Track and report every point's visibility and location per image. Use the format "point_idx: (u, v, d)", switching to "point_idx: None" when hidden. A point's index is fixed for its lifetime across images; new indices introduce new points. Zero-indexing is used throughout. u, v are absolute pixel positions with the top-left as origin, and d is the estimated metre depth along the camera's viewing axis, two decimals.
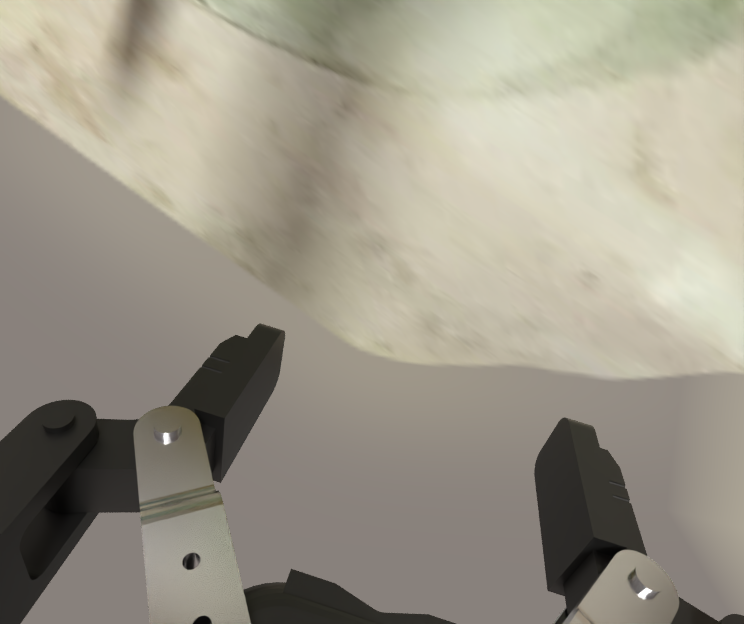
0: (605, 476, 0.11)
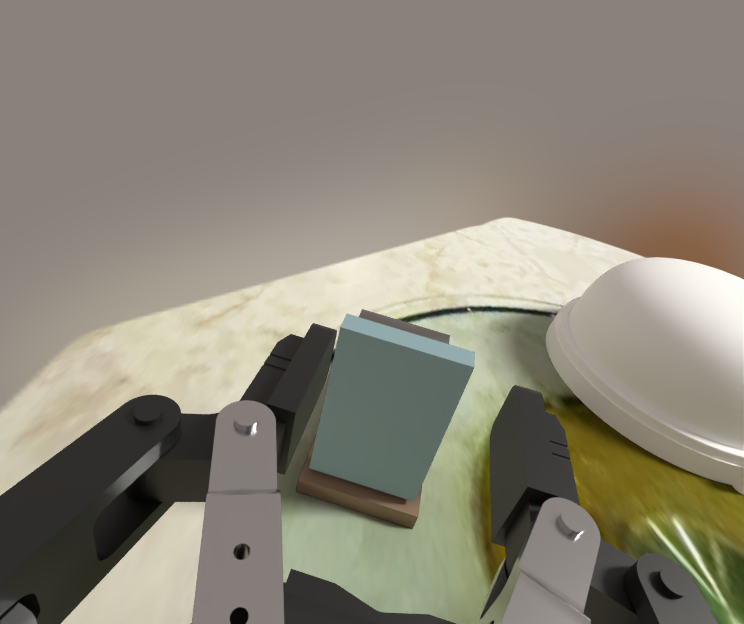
0: (546, 435, 0.11)
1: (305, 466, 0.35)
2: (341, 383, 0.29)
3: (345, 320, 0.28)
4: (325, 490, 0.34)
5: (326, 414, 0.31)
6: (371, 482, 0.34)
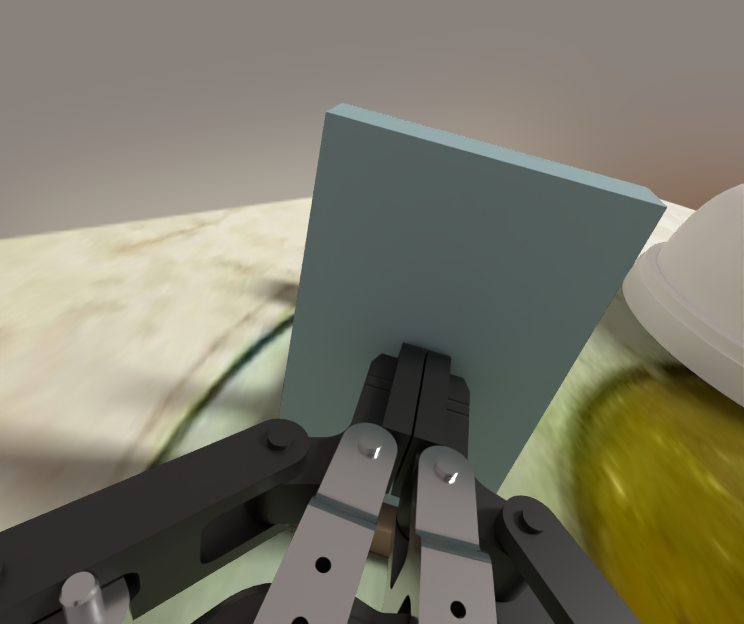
0: (445, 393, 0.12)
1: None
2: (330, 275, 0.13)
3: (338, 107, 0.12)
4: None
5: (299, 352, 0.15)
6: (390, 493, 0.17)
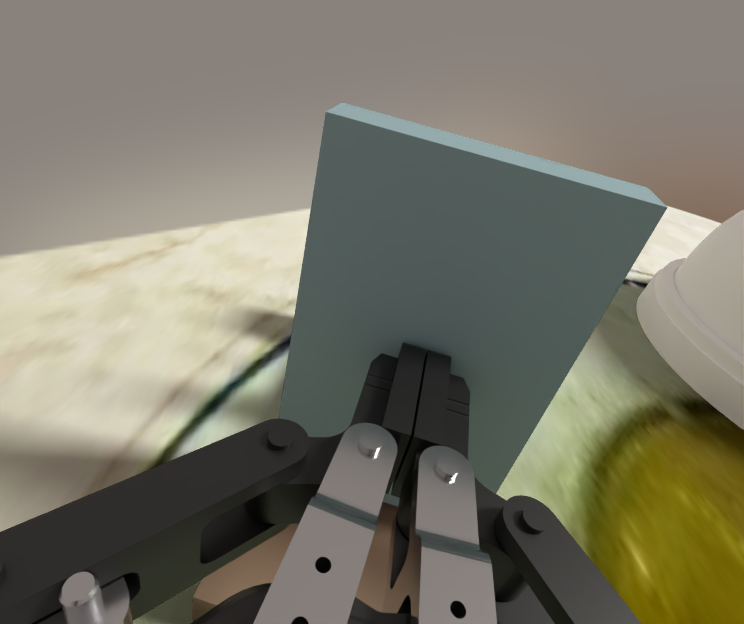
0: (445, 393, 0.12)
1: None
2: (330, 275, 0.13)
3: (338, 107, 0.12)
4: None
5: (299, 351, 0.15)
6: (390, 493, 0.17)
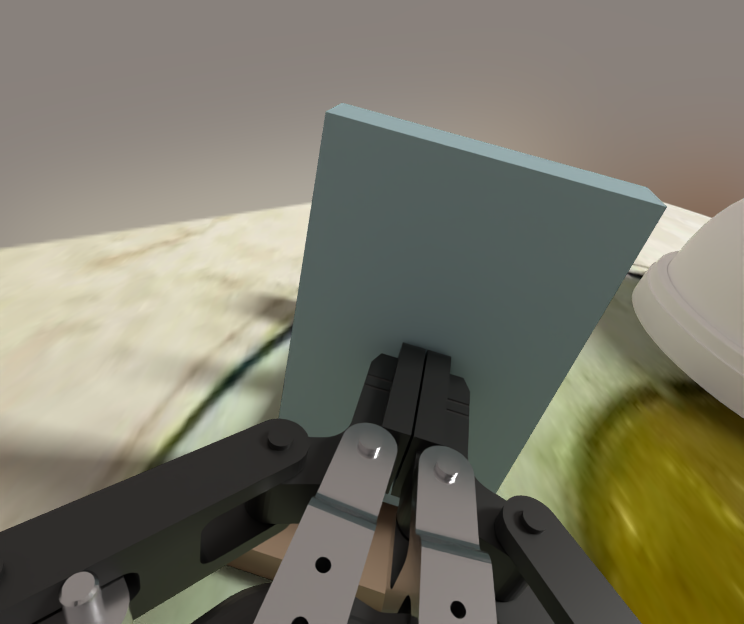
0: (445, 393, 0.12)
1: None
2: (330, 275, 0.13)
3: (338, 107, 0.12)
4: None
5: (299, 352, 0.15)
6: (390, 493, 0.17)
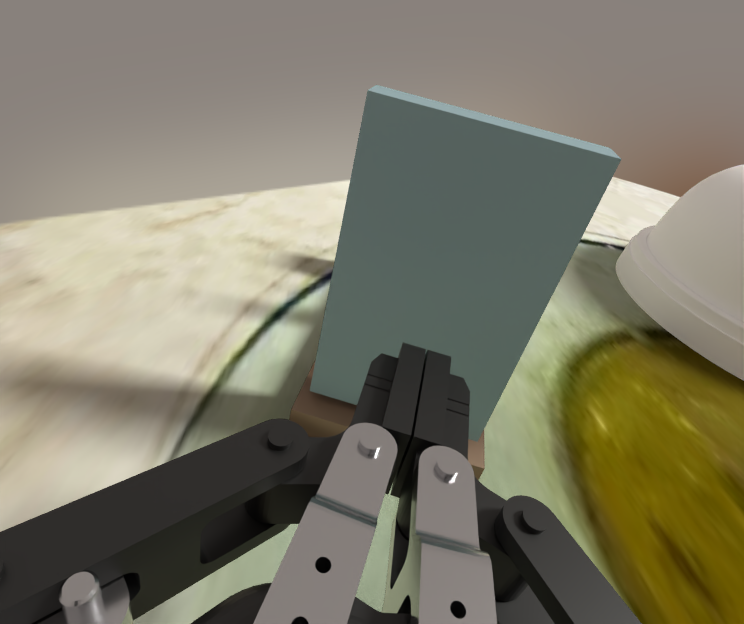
0: (445, 393, 0.12)
1: (302, 393, 0.22)
2: (366, 220, 0.17)
3: (375, 88, 0.15)
4: (334, 428, 0.21)
5: (338, 287, 0.18)
6: None
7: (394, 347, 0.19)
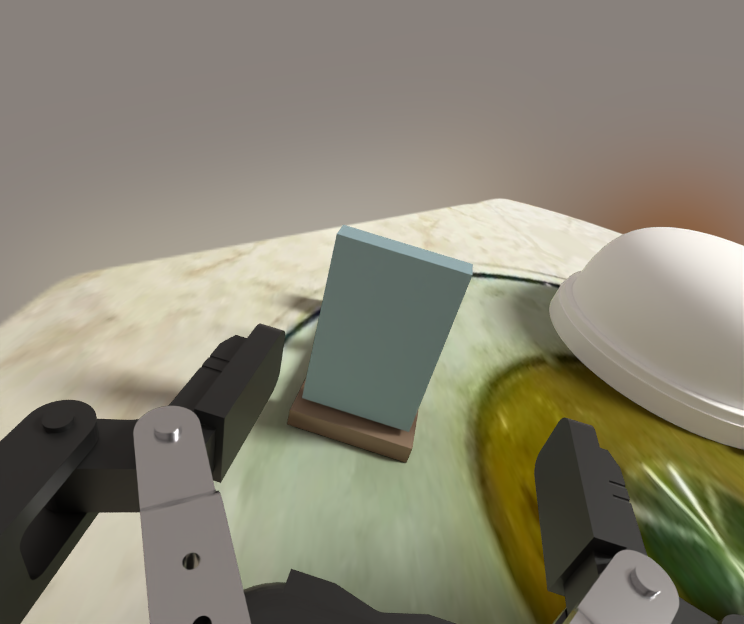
0: (605, 476, 0.11)
1: (297, 399, 0.34)
2: (336, 298, 0.29)
3: (342, 229, 0.27)
4: (317, 422, 0.33)
5: (320, 335, 0.30)
6: (365, 411, 0.33)
7: (355, 371, 0.31)
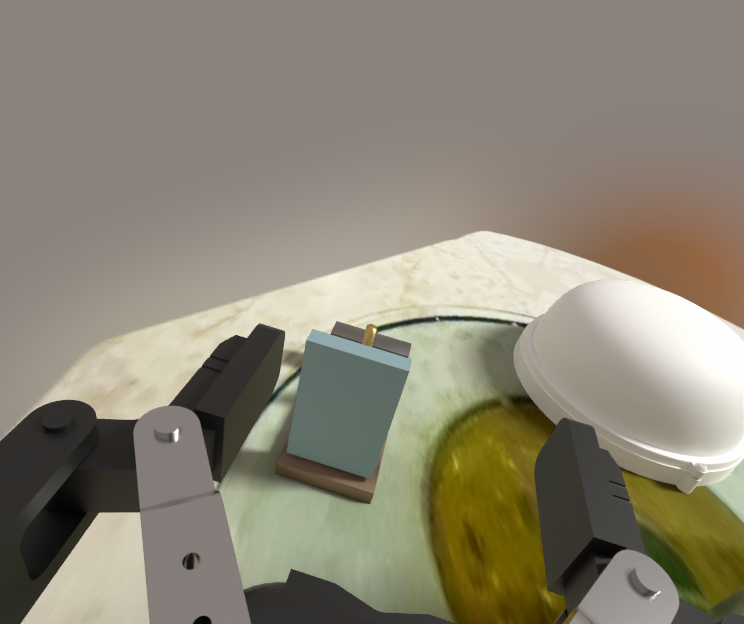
0: (605, 476, 0.11)
1: (283, 453, 0.43)
2: (309, 383, 0.37)
3: (310, 334, 0.36)
4: (298, 472, 0.42)
5: (298, 408, 0.39)
6: (336, 463, 0.42)
7: (326, 434, 0.40)
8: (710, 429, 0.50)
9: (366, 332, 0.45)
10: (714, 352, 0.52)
